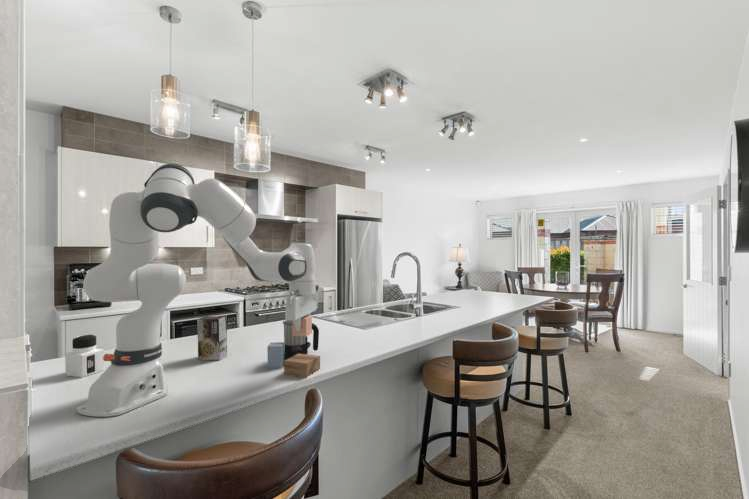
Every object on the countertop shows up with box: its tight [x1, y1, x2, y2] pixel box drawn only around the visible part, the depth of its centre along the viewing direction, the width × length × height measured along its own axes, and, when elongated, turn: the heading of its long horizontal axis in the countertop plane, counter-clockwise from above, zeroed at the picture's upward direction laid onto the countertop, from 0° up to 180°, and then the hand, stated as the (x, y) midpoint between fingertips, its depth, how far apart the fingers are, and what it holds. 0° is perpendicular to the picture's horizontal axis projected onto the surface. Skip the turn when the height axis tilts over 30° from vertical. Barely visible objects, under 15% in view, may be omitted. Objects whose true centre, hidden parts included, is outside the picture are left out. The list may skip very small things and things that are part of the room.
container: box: [64, 334, 105, 378], centre depth 128 cm, size 8×8×13 cm
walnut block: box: [283, 353, 321, 378], centre depth 129 cm, size 9×9×5 cm
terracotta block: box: [293, 315, 313, 337], centre depth 129 cm, size 5×5×6 cm
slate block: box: [267, 341, 285, 369], centre depth 135 cm, size 5×5×8 cm
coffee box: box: [196, 315, 228, 361], centre depth 145 cm, size 9×6×16 cm
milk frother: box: [282, 319, 320, 361], centre depth 148 cm, size 14×16×15 cm
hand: (302, 328), depth 129 cm, fingers closed on terracotta block, 5 cm apart
